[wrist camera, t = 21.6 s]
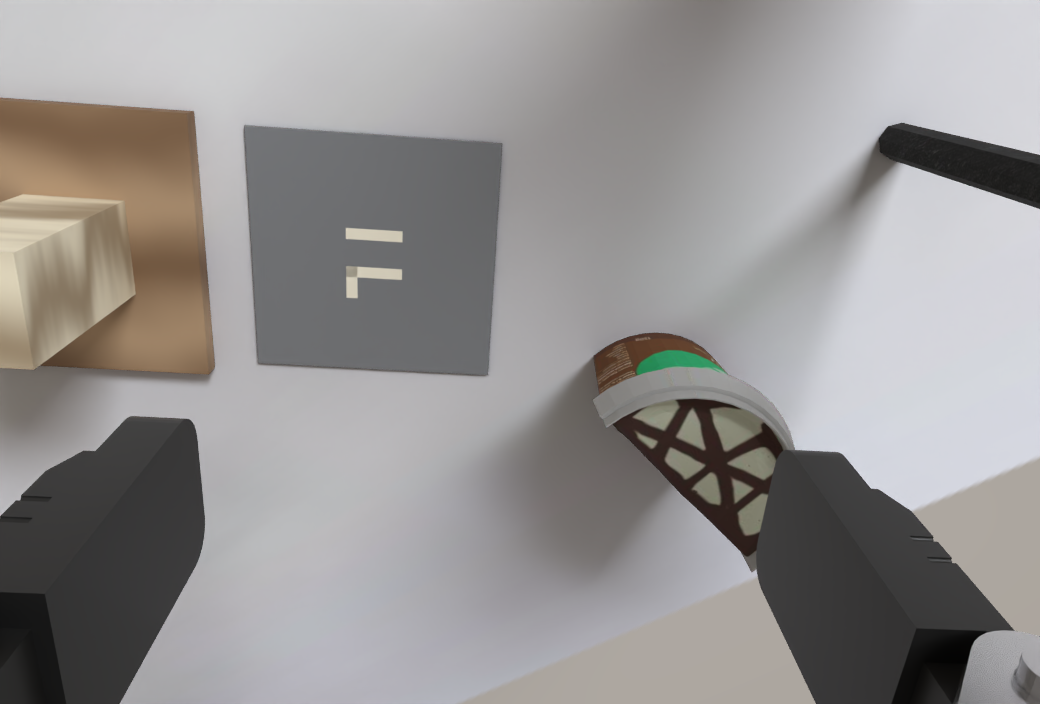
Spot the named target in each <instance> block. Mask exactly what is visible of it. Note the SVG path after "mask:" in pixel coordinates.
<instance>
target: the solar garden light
mask: <svg viewBox="0 0 1040 704" xmlns="http://www.w3.org/2000/svg"><path fill="white" fill-rule="evenodd" d="M879 143H880V152H881V153H882V154H884V155H885V156H886V157H888V158H889V159H891V160H894V161H897V162H900V163H903V164H906V165H909V166H912V167H915V168H918V169H921V170H924V171H927V172H930V173H933V174H936V175H939V176H942V177H945V178H948V179H951V180H954V181H957V182H960V183H963V184H966V185H969V186H973V187H976V188H979V189H982V190H985V191H988V192H991V193H994V194H997V195H1000V196H1003V197H1006V198H1009V199H1012V200H1015V201H1018V202H1021V203H1024V204H1027V205H1030V206H1033V207H1036V208H1039V209H1040V155H1037V154H1033V153H1029V152H1024V151H1020V150H1016V149H1012V148H1007V147H1003V146H999V145H994V144H990V143H986V142H982V141H977V140H973V139H969V138H964V137H960V136H956V135H952V134H947V133H943V132H939V131H935V130H930V129H926V128H922V127H917V126H913V125H909V124H905V123H900V124H896V125H892V126H888V127H887V129H886V130H885V131H884V133H883V134H882V135H881V137H880V138H879Z"/></svg>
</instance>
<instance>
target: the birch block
mask: <svg viewBox="0 0 1040 704" xmlns="http://www.w3.org/2000/svg"><path fill="white" fill-rule="evenodd" d="M135 294H136V292H135V284H134V276H133V267H132V259H131V251H130V242H129V234H128V225H127V217H126V209H125V201H122V200H106V199H90V198H74V197H59V196H43V195H27V194H22V195H19V196H17V197H14V198H11V199H8V200H5V201H2V202H0V368H11V369H31V370H34V369H36V368H37V367H38V366H40V365H41V364H43V363H44V362H45V361H47V360H48V359H49V358H51V357H52V356H53V355H55V354H56V353H57V352H59V351H60V350H61V349H63V348H64V347H65V346H67V345H68V344H69V343H71V342H72V341H73V340H75V339H76V338H77V337H79V336H80V335H82V334H83V333H84V332H86V331H87V330H88V329H90V328H91V327H92V326H94V325H95V324H96V323H98V322H99V321H100V320H102V319H103V318H104V317H106V316H107V315H108V314H110V313H111V312H112V311H114V310H115V309H116V308H118V307H119V306H120V305H122V304H123V303H125V302H126V301H127V300H129V299H130V298H131V297H133V296H134V295H135Z"/></svg>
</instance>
